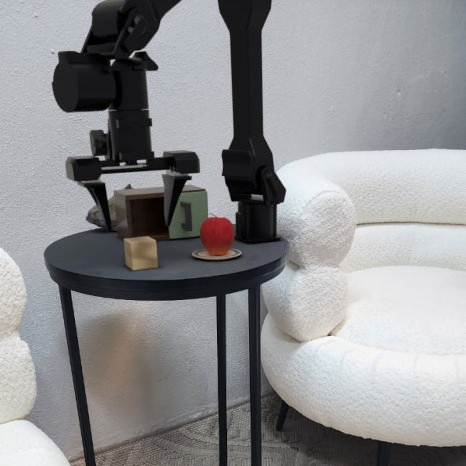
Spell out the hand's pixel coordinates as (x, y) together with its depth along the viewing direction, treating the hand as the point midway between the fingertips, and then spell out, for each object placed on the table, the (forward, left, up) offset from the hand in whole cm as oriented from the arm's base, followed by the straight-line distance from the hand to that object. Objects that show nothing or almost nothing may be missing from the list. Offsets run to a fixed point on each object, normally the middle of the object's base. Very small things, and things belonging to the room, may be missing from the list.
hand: (139, 228), depth 104 cm
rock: (-5, -35, -6) cm, 36 cm away
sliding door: (-15, -17, -5) cm, 23 cm away
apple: (-13, -1, -6) cm, 14 cm away
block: (0, 0, -6) cm, 6 cm away
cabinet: (-11, -23, -6) cm, 26 cm away
